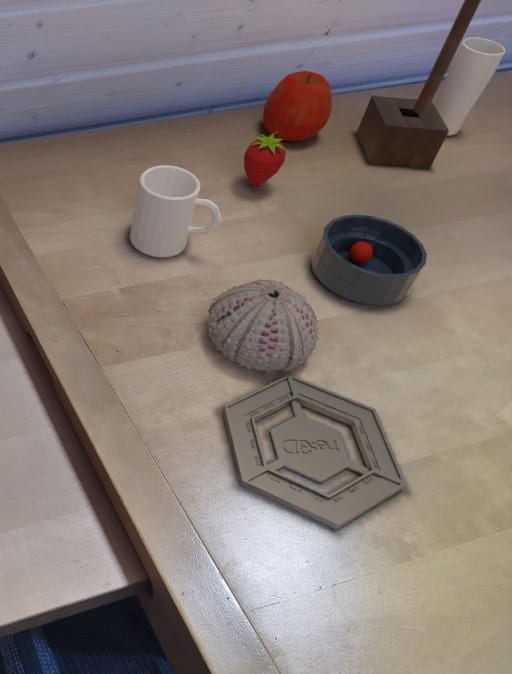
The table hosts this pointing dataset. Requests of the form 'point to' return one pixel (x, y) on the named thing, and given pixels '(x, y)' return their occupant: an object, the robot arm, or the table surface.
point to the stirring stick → (446, 55)
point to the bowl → (377, 273)
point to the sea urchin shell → (263, 326)
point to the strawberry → (263, 159)
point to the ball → (360, 252)
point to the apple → (298, 106)
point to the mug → (168, 211)
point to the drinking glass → (467, 80)
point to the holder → (400, 133)
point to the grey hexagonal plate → (312, 451)
